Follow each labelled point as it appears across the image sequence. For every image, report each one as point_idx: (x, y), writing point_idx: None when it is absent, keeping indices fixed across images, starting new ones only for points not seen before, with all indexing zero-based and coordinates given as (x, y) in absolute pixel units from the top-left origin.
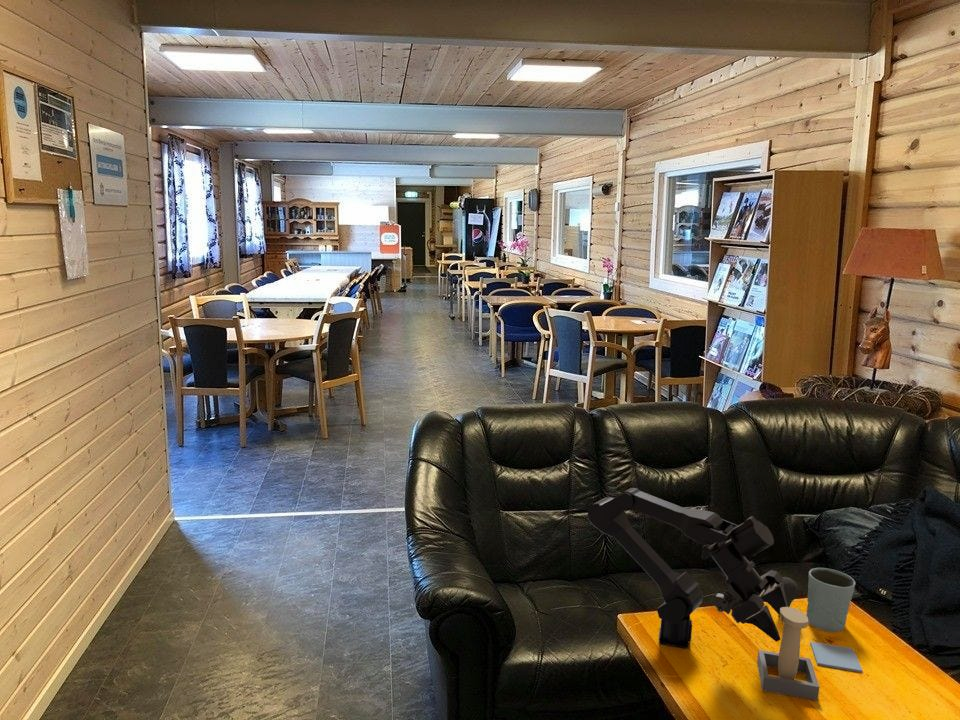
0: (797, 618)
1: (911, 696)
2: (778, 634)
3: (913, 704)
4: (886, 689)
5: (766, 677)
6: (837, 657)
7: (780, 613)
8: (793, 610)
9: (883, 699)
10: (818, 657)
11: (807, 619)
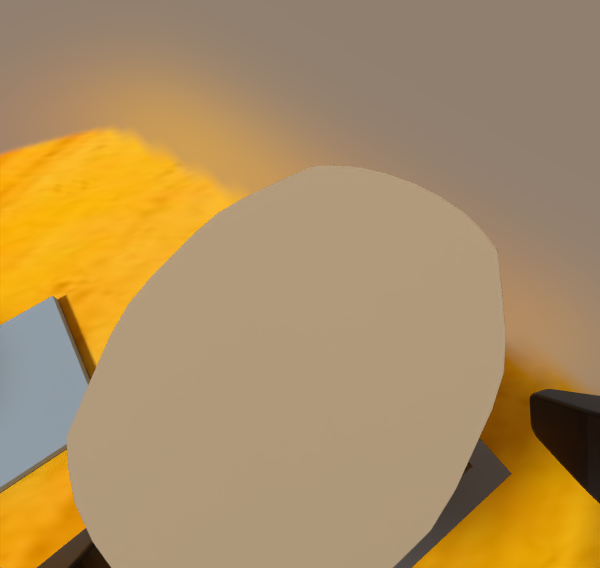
0: (359, 258)
1: (104, 183)
2: (585, 398)
3: (140, 169)
4: (112, 226)
5: (500, 462)
6: (7, 388)
7: (424, 530)
8: (169, 409)
9: (172, 212)
10: (54, 439)
11: (277, 187)
